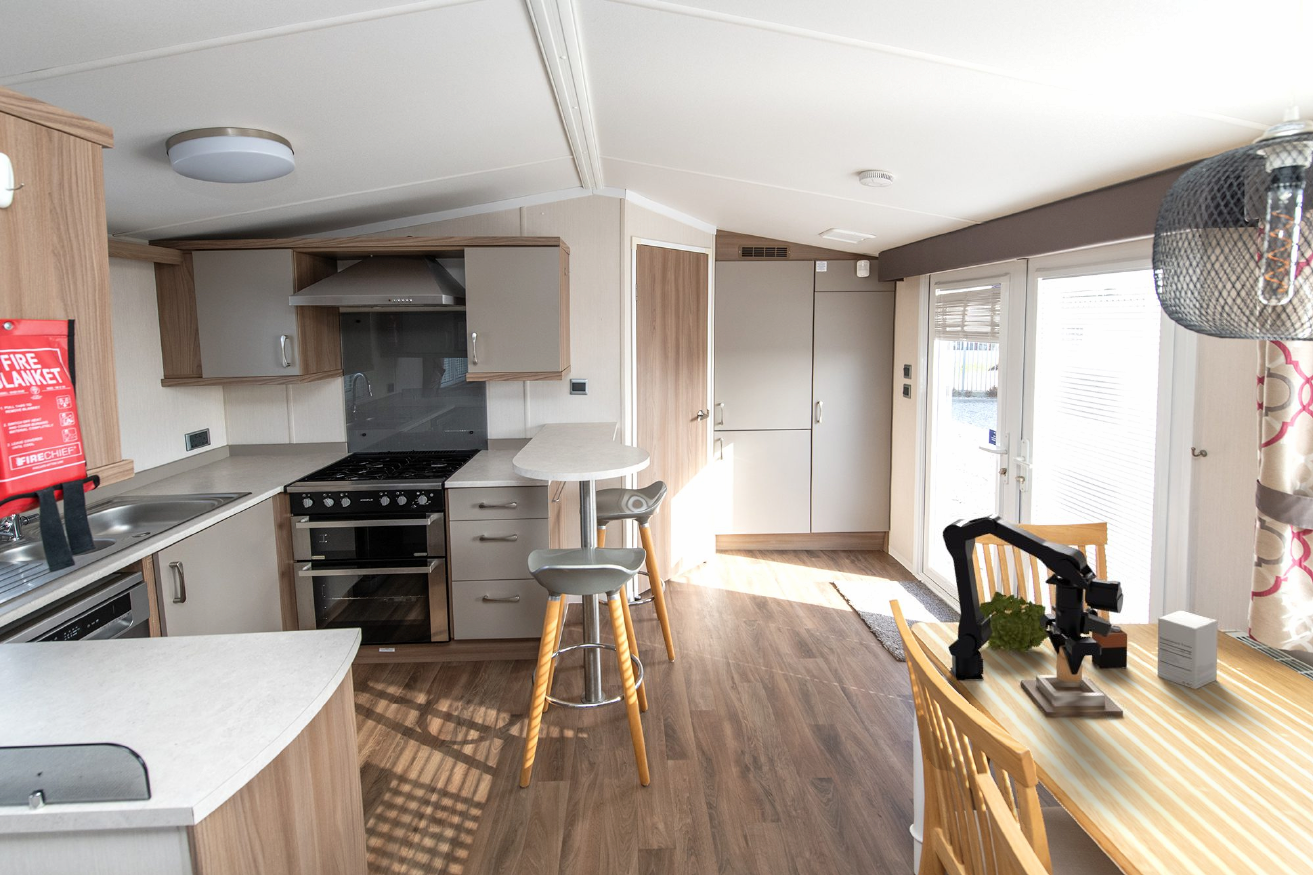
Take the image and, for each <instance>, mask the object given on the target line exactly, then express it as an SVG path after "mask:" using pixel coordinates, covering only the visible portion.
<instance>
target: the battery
mask: <svg viewBox="0 0 1313 875" xmlns="http://www.w3.org/2000/svg"><path fill="white" fill-rule="evenodd" d="M1091 638H1093V639H1094V640H1095V641H1096V642H1097V643H1098V644H1099V645H1101V655H1093V656H1091V662H1092V664H1094V665H1095V666H1096V667H1098V668H1099V669H1101V670H1104V669H1122V668H1123V669H1125V668H1127V666H1128V633H1126V631H1124V630H1122V627H1121V626H1119V625H1112V626H1111V628H1110V631H1109V633H1108V636H1107V637H1103V636H1102V635H1099V634H1096V633H1093V632H1091Z"/></svg>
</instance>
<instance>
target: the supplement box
mask: <svg viewBox="0 0 1313 875" xmlns="http://www.w3.org/2000/svg"><path fill="white" fill-rule="evenodd" d="M1157 620H1158V621H1157V677H1159V678H1162V679H1165V680H1168V681H1170V682H1173V683H1176V684H1179V685H1181V686H1184V685H1185V687H1187V686H1188V688H1190V687H1191V688H1190V689H1193V690H1197V689H1198V688H1201V687H1204V686H1206V685H1207V684H1211V683H1213V682H1214V681H1217V679H1218V678H1217V676H1218V620H1217V619H1214V618H1213V619H1212V618H1209V617H1205V616H1201V615H1198V614H1195V613H1192V612H1187V611H1184V610H1177V611H1174V612H1171V613H1169V614H1166V615H1164V616H1160V617H1158V618H1157Z"/></svg>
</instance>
